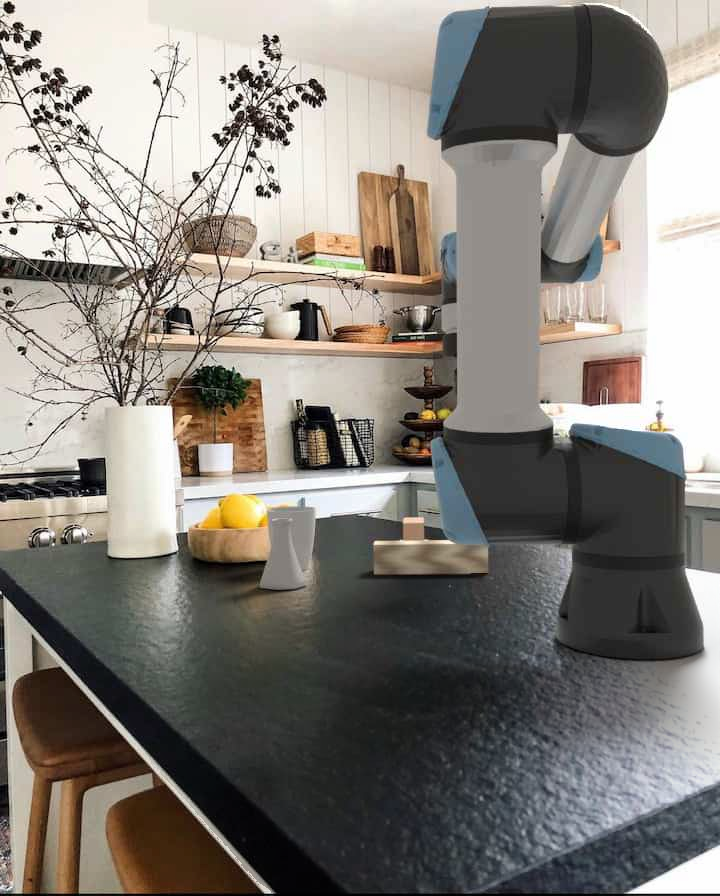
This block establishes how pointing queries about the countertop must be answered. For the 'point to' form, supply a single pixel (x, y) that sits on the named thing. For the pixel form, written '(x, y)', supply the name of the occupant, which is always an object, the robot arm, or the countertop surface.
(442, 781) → the countertop surface
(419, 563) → the bar
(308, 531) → the cup
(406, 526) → the block
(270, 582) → the flask
